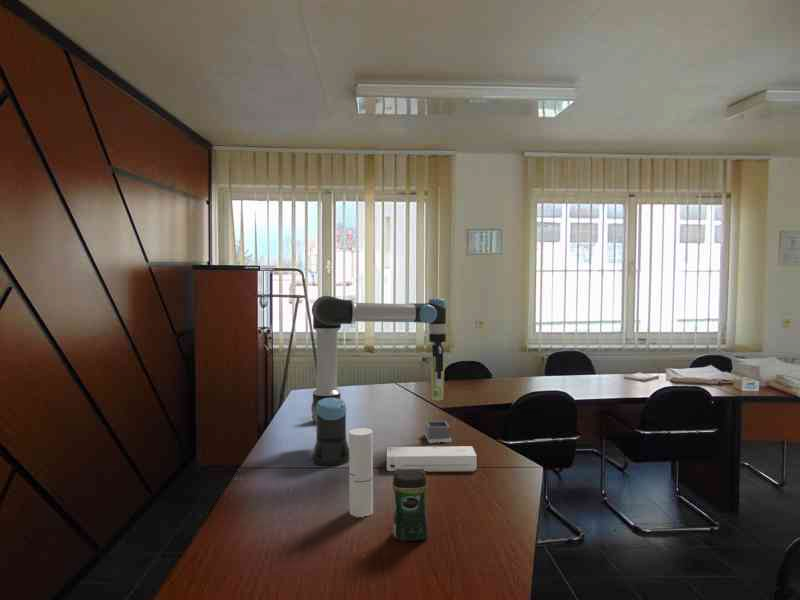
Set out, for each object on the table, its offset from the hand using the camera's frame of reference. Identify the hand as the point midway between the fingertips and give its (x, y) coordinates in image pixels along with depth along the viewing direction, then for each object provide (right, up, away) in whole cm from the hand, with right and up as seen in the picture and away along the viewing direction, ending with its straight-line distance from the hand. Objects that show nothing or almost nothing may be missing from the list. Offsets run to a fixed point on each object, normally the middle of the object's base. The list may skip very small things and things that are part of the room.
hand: (437, 384), depth 227 cm
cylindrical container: (-29, -27, -72) cm, 82 cm away
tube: (0, -7, 0) cm, 7 cm away
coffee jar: (-14, -28, -86) cm, 92 cm away
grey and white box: (0, -24, +1) cm, 24 cm away
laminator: (-5, -26, -34) cm, 43 cm away
